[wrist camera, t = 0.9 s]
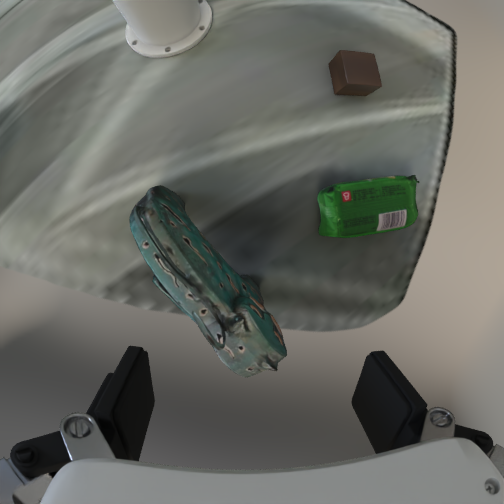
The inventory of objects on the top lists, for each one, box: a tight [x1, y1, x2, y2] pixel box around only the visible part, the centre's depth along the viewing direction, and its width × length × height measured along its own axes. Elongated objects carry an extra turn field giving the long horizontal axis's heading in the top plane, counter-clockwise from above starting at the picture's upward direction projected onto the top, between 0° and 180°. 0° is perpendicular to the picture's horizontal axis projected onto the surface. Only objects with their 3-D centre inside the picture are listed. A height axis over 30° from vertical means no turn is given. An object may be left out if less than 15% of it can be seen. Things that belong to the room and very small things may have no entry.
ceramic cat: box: [130, 185, 287, 377], centre depth 27 cm, size 20×6×20 cm, turn 38°
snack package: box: [317, 175, 419, 238], centre depth 34 cm, size 7×16×5 cm, turn 100°
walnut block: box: [329, 50, 382, 96], centre depth 30 cm, size 5×5×5 cm
